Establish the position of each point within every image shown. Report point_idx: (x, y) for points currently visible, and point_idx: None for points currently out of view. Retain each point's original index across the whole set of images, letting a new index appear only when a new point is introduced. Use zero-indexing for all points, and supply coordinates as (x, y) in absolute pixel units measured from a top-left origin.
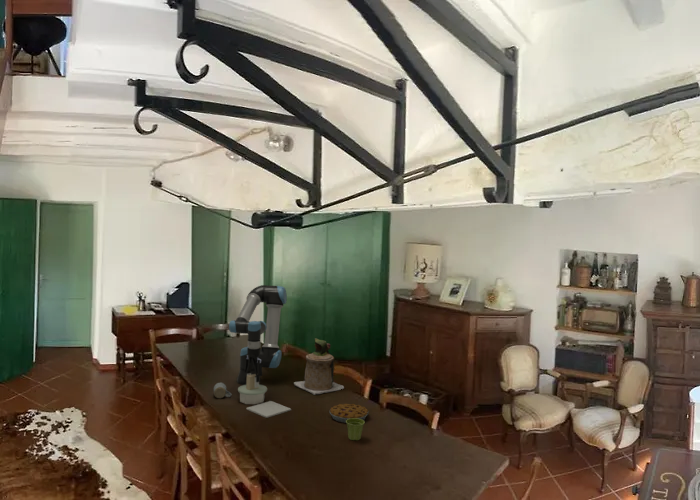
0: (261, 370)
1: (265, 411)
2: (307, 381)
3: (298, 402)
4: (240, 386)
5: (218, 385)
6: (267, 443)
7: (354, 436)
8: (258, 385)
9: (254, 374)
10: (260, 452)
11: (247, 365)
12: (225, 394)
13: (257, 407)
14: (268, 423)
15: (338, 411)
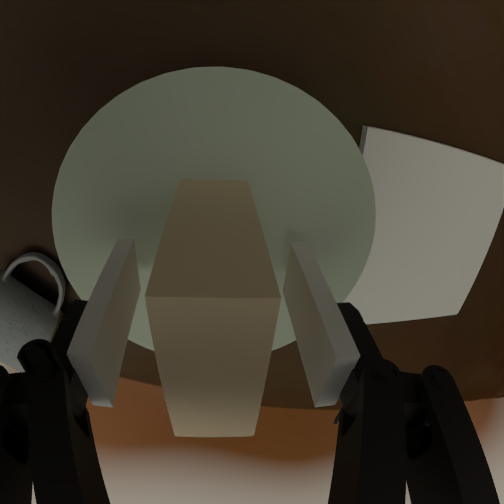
0: (473, 455)
1: (434, 286)
2: None
3: (483, 26)
4: (81, 294)
5: (9, 364)
6: (490, 376)
7: None
8: (310, 259)
9: (190, 355)
10: (484, 395)
11: (8, 500)
12: (60, 315)
13: (370, 282)
14: (472, 329)
15: None
